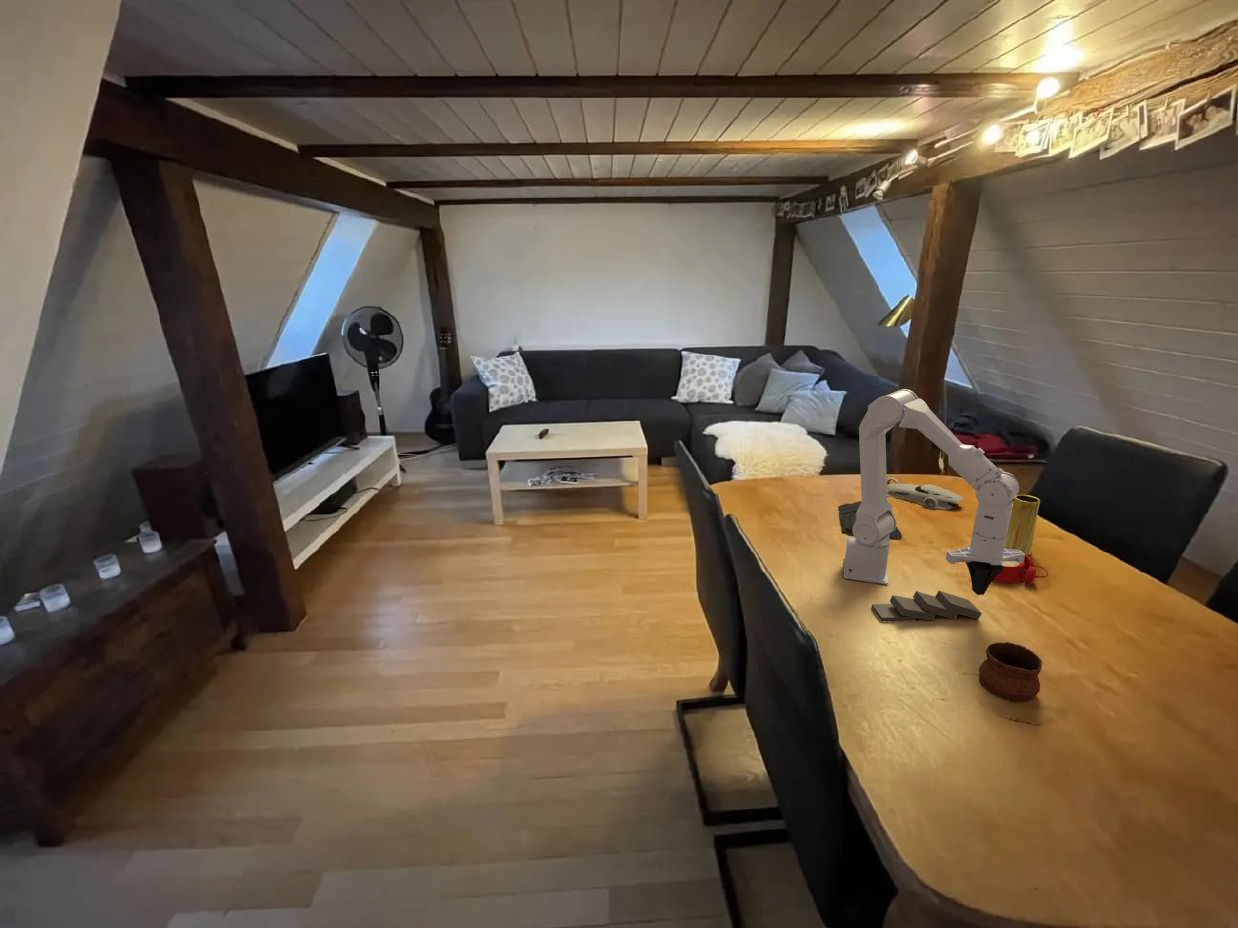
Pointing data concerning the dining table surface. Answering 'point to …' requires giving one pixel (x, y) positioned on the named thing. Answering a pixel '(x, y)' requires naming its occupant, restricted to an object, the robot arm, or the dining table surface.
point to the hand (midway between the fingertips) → (977, 592)
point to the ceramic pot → (1011, 673)
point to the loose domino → (889, 613)
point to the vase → (1022, 524)
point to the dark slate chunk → (849, 517)
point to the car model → (923, 494)
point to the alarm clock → (1018, 572)
